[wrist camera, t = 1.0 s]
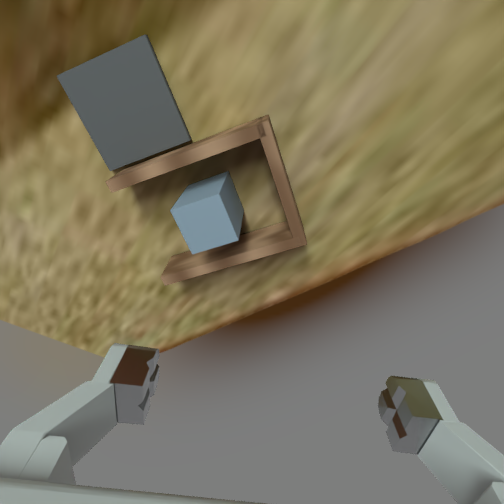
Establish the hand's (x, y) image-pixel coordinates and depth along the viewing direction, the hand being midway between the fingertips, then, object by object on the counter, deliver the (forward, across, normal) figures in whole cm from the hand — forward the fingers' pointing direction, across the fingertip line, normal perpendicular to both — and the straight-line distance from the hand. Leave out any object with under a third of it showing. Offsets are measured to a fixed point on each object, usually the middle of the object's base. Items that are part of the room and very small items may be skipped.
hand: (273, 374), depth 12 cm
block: (+29, +5, +4) cm, 29 cm away
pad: (+29, +15, -4) cm, 33 cm away
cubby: (+28, +6, +4) cm, 29 cm away
